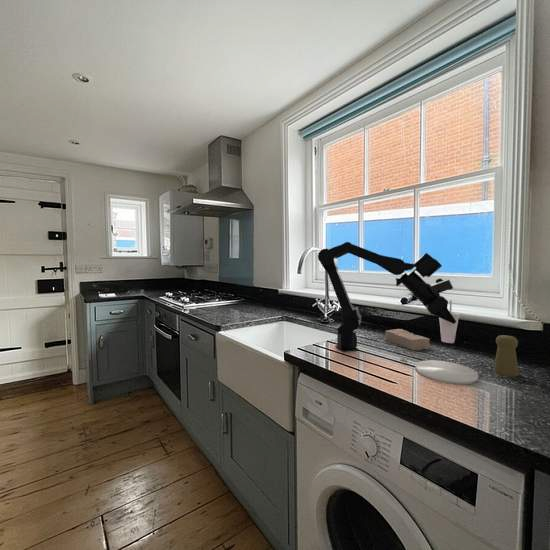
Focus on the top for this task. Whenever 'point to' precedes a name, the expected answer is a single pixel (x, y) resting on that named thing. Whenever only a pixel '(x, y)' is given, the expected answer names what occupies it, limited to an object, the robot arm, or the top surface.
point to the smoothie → (449, 327)
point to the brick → (407, 339)
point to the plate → (446, 372)
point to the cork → (506, 356)
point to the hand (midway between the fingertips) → (453, 321)
